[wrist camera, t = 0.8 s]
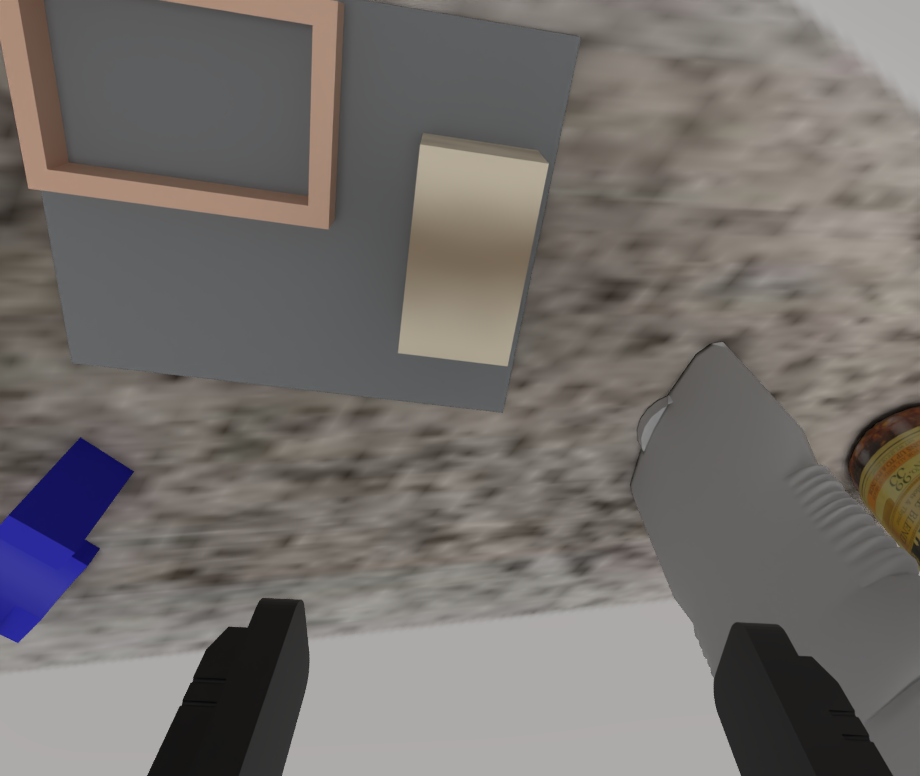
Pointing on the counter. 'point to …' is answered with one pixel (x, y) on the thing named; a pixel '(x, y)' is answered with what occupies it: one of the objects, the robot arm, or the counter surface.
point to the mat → (278, 187)
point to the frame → (47, 168)
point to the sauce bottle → (892, 476)
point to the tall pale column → (778, 545)
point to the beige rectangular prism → (469, 248)
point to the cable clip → (53, 535)
